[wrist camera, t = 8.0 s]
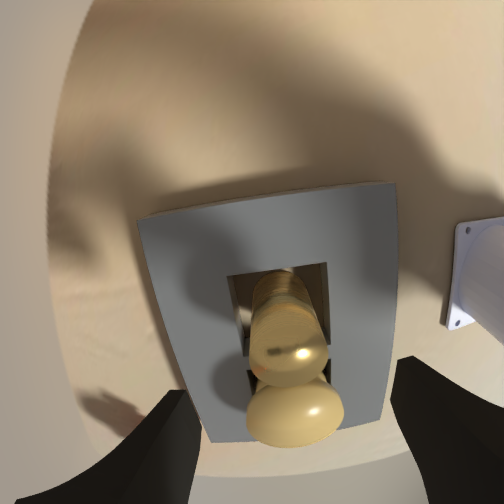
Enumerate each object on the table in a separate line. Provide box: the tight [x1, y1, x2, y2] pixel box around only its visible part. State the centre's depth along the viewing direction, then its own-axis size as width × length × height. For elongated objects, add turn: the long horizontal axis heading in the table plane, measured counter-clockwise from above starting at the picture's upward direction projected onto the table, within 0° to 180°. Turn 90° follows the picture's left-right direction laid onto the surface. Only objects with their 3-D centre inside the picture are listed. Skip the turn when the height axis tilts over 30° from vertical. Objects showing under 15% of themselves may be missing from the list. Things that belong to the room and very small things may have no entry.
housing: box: [137, 181, 398, 448], centre depth 15 cm, size 13×17×4 cm
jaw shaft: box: [249, 271, 329, 388], centre depth 14 cm, size 3×3×6 cm
